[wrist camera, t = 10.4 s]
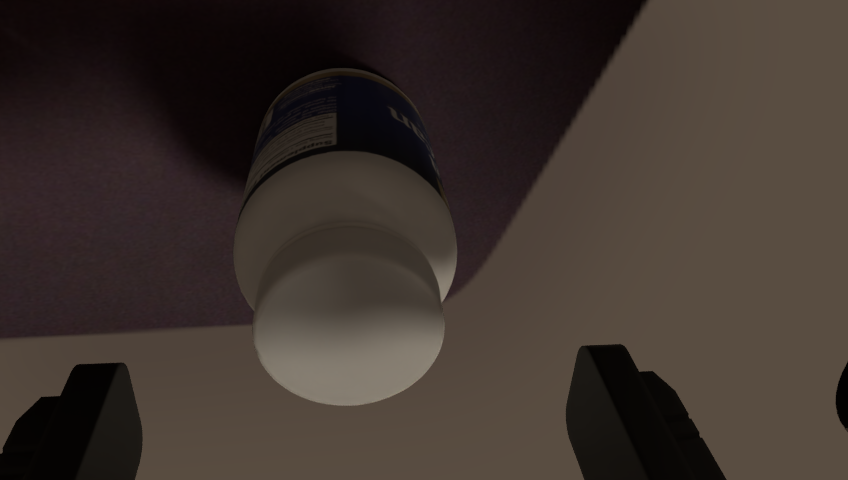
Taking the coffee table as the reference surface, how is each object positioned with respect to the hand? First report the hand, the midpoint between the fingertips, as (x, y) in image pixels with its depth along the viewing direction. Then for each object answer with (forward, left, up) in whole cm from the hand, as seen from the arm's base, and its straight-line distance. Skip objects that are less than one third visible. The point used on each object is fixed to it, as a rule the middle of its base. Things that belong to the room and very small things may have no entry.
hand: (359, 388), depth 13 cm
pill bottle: (0, 0, -12) cm, 12 cm away
